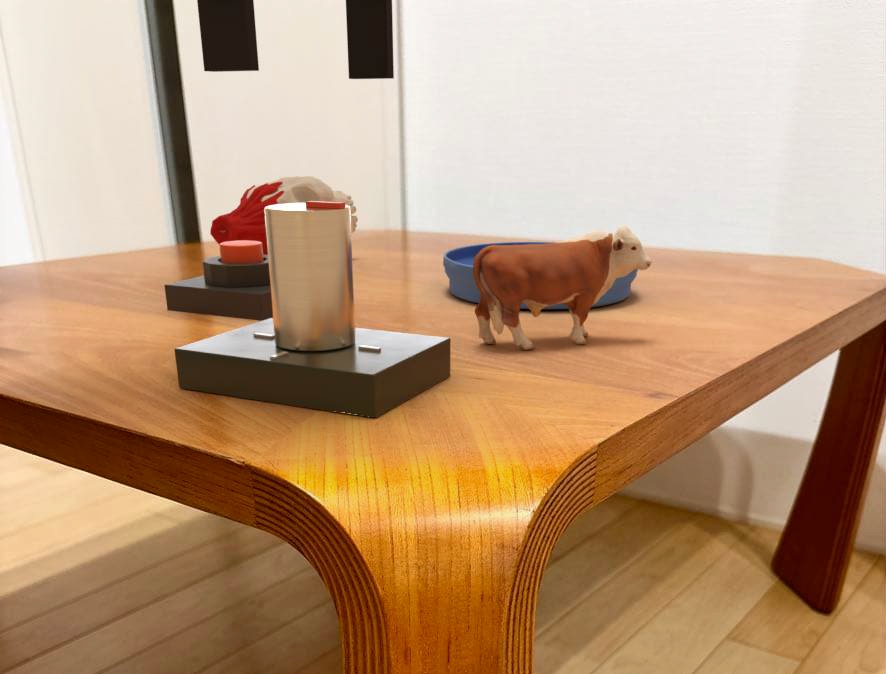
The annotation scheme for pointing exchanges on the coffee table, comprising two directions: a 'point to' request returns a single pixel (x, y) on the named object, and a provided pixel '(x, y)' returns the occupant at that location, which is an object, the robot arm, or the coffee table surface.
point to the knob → (311, 275)
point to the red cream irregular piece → (251, 214)
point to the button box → (225, 290)
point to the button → (241, 251)
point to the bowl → (465, 288)
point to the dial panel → (316, 369)
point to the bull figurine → (551, 279)
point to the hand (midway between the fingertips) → (309, 76)
